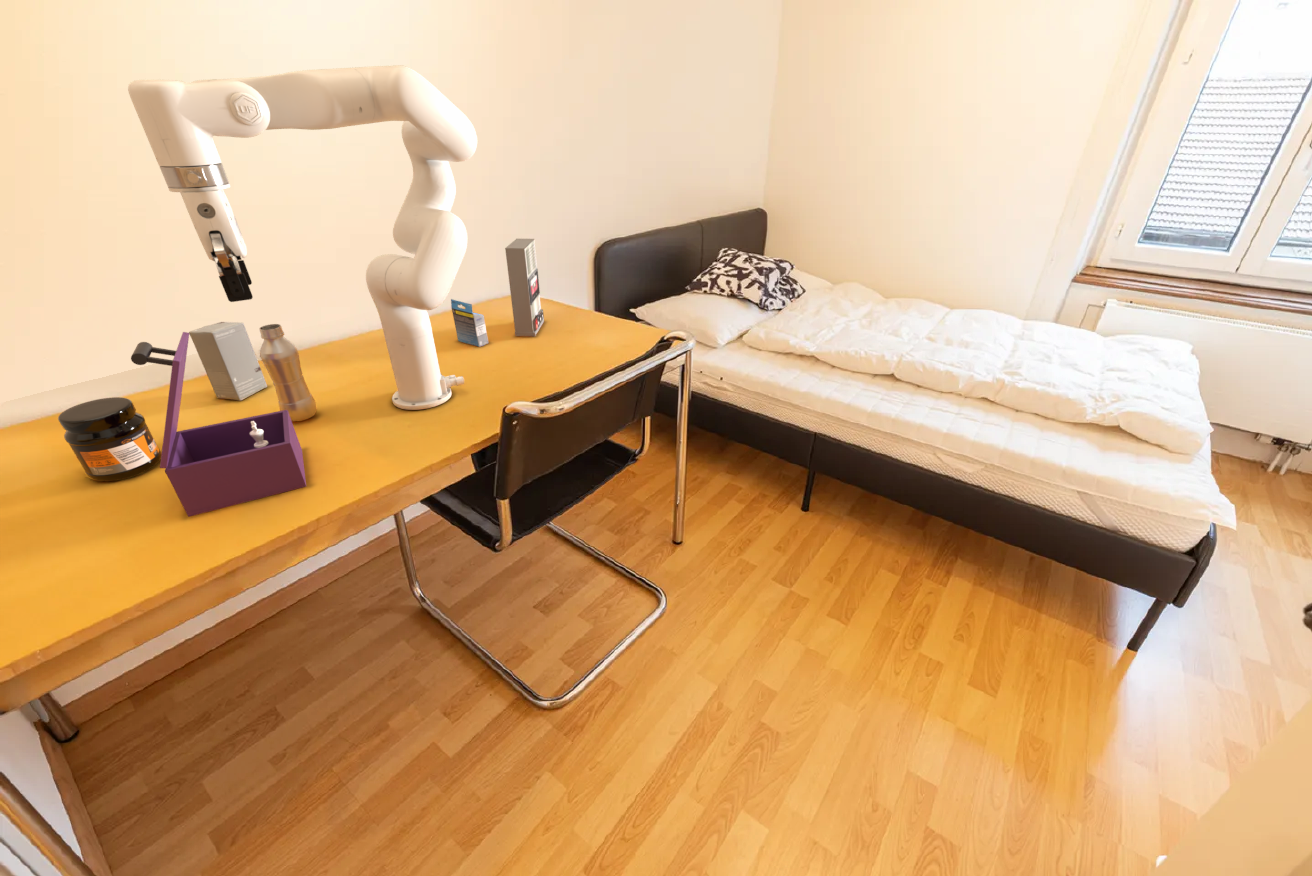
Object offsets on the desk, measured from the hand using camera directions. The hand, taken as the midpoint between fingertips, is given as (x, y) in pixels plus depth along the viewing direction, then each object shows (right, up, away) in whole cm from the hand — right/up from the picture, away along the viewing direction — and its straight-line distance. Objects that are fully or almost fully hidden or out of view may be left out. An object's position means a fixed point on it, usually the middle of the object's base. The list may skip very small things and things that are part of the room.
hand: (241, 292), depth 92 cm
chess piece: (0, -30, +8) cm, 31 cm away
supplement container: (-28, -29, +10) cm, 42 cm away
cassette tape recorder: (+30, +9, +77) cm, 83 cm away
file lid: (-7, -18, -4) cm, 19 cm away
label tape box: (+16, +3, +67) cm, 69 cm away
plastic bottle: (-7, -20, +27) cm, 34 cm away
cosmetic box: (-27, -14, +37) cm, 48 cm away
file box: (-3, -31, +7) cm, 32 cm away
